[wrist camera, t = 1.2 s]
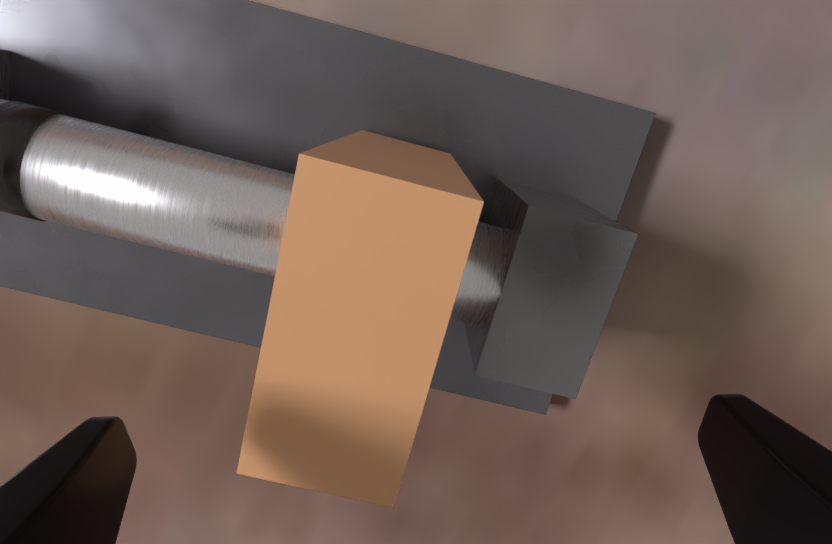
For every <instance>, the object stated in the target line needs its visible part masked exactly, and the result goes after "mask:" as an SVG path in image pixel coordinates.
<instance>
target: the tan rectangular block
mask: <svg viewBox="0 0 832 544" xmlns="http://www.w3.org/2000/svg"><path fill="white" fill-rule="evenodd" d="M483 204H484V201H483V199H482V198H481V197H480V195H479V194H478V192H477V191H476V189H475V188H474V187H473V185H472V184H471V182H470V181H469V179H468V178H467V177H466V175H465V174H464V172H463V171H462V169H461V168H460V167H459V165H458V164H457V162H456V161H455V159H454V158H453V157H452V155H451V154H450V153H447V152H443V151H439V150H435V149H432V148H428V147H424V146H420V145H416V144H413V143H409V142H405V141H401V140H398V139H394V138H390V137H386V136H383V135H379V134H375V133H371V132H367V131H364V130H361V131H358V132H356V133H353V134H350V135H348V136H345V137H342V138H339V139H337V140H334V141H331V142H329V143H326V144H323V145H321V146H318V147H315V148H312V149H310V150H307V151H304V152H302V153H299V156H298V161H297V166H296V171H295V177H294V182H293V187H292V192H291V197H290V202H289V207H288V212H287V217H286V223H285V228H284V233H283V238H282V243H281V248H280V253H279V258H278V264H277V269H276V274H275V279H274V284H273V289H272V294H271V299H270V304H269V310H268V315H267V320H266V325H265V330H264V335H263V340H262V345H261V351H260V356H259V361H258V366H257V371H256V376H255V381H254V386H253V392H252V397H251V402H250V407H249V412H248V417H247V422H246V427H245V432H244V438H243V443H242V448H241V453H240V458H239V463H238V468H237V474H242V475H246V476H251V477H255V478H260V479H264V480H269V481H273V482H278V483H282V484H287V485H291V486H296V487H300V488H305V489H310V490H314V491H319V492H323V493H328V494H332V495H337V496H341V497H346V498H350V499H355V500H359V501H364V502H369V503H373V504H378V505H382V506H387V507H391V508H394V506H395V502H396V499H397V496H398V492H399V489H400V485H401V482H402V479H403V475H404V472H405V468H406V465H407V462H408V458H409V455H410V451H411V448H412V445H413V441H414V438H415V434H416V431H417V428H418V424H419V421H420V417H421V414H422V411H423V407H424V404H425V401H426V397H427V394H428V390H429V387H430V384H431V380H432V377H433V373H434V370H435V367H436V363H437V360H438V356H439V353H440V350H441V346H442V343H443V339H444V336H445V333H446V329H447V326H448V322H449V319H450V316H451V312H452V309H453V305H454V302H455V299H456V295H457V292H458V288H459V285H460V282H461V278H462V275H463V271H464V268H465V265H466V261H467V258H468V255H469V251H470V248H471V244H472V241H473V238H474V234H475V231H476V227H477V224H478V221H479V217H480V214H481V210H482V207H483Z"/></svg>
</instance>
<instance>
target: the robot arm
mask: <svg viewBox="0 0 832 544" xmlns="http://www.w3.org/2000/svg"><path fill="white" fill-rule="evenodd" d="M698 442H699V447H700V450H701V453H702V455H703V458H704V461H705V464H706V466H707V469H708V472H709V475H710V477H711V480H712V483H713V486H714V488H715V491H716V494H717V497H718V500H719V502H720V505H721V508H722V511H723V513H724V516H725V519H726V522H727V524H728V527H729V530H730V532H731V535H732V537H733V540H734V542H735V544H832V451H830V450H828V449H827V448H825V447H824V446H822V445H821V444H819V443H818V442H816V441H814V440H813V439H811V438H810V437H808V436H807V435H805V434H804V433H802V432H800V431H799V430H797V429H796V428H794V427H793V426H791V425H790V424H788V423H786V422H785V421H783V420H782V419H780V418H779V417H777V416H776V415H774V414H772V413H771V412H769V411H768V410H766V409H765V408H763V407H761V406H760V405H758V404H757V403H755V402H754V401H752V400H751V399H749V398H747V397H746V396H744V395H741V394H720V395H715V396H713V397H712V398H711V399H710V401H709V404H708V406H707V409H706V412H705V415H704V417H703V420H702V423H701V425H700V428H699V432H698ZM136 463H137V458H136V452H135V449H134V447H133V444H132V442H131V440H130V437H129V435H128V432H127V430H126V427H125V425H124V423H123V421H122V420H121V419H120V418H119V417H115V416H112V417H93V418H90V419H87V420H86V421H84V422H83V423H82V424H80V425H79V426H78V427H76V428H75V429H74V430H73V431H71V432H70V433H69V434H67V435H66V436H65V437H63V438H62V439H61V440H60V441H58V442H57V443H56V444H54V445H53V446H52V447H50V448H49V449H48V450H47V451H45V452H44V453H43V454H41V455H40V456H39V457H37V458H36V459H35V460H33V461H32V462H31V463H30V464H28V465H27V466H26V467H24V468H23V469H22V470H20V471H19V472H18V473H17V474H15V475H14V476H13V477H11V478H10V479H9V480H7V481H6V482H5V483H4V484H2V485H1V486H0V544H116V540H117V536H118V532H119V529H120V525H121V521H122V518H123V514H124V510H125V507H126V503H127V499H128V495H129V492H130V488H131V484H132V481H133V477H134V473H135V469H136Z"/></svg>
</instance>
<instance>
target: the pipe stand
mask: <svg viewBox="0 0 832 544" xmlns="http://www.w3.org/2000/svg"><path fill="white" fill-rule="evenodd" d="M655 114H656V113H653V112H650V111H646V110H642V109H639V108H635V107H632V106H628V105H624V104H621V103H617V102H613V101H610V100H606V99H603V98H599V97H595V96H592V95H588V94H585V93H581V92H577V91H574V90H570V89H566V88H563V87H559V86H556V85H552V84H548V83H545V82H541V81H538V80H534V79H530V78H527V77H523V76H520V75H516V74H512V73H509V72H505V71H501V70H498V69H494V68H491V67H487V66H483V65H480V64H476V63H473V62H469V61H465V60H462V59H458V58H455V57H451V56H447V55H444V54H440V53H436V52H433V51H429V50H426V49H422V48H418V47H415V46H411V45H408V44H404V43H400V42H397V41H393V40H390V39H386V38H382V37H379V36H375V35H371V34H368V33H364V32H361V31H357V30H353V29H350V28H346V27H343V26H339V25H335V24H332V23H328V22H325V21H321V20H317V19H314V18H310V17H306V16H303V15H299V14H296V13H292V12H288V11H285V10H281V9H278V8H274V7H270V6H267V5H263V4H260V3H256V2H252V1H249V0H0V286H2V287H6V288H10V289H15V290H19V291H23V292H27V293H32V294H36V295H40V296H44V297H49V298H53V299H57V300H61V301H66V302H70V303H74V304H78V305H82V306H87V307H91V308H95V309H99V310H104V311H108V312H112V313H116V314H121V315H125V316H129V317H133V318H138V319H142V320H146V321H150V322H154V323H159V324H163V325H167V326H171V327H176V328H180V329H184V330H188V331H193V332H197V333H201V334H205V335H210V336H214V337H218V338H222V339H227V340H231V341H235V342H239V343H243V344H248V345H252V346H256V347H260V348H261V345H262V340H263V335H264V330H265V325H266V320H267V315H268V310H269V304H270V299H271V294H272V289H273V284H274V279H275V274H276V269H277V264H278V258H279V253H280V248H281V243H282V238H283V233H284V228H285V223H286V217H287V212H288V207H289V202H290V197H291V192H292V187H293V182H294V177H295V171H296V166H297V161H298V156H299V153H302V152H304V151H307V150H310V149H312V148H315V147H318V146H321V145H323V144H326V143H329V142H331V141H334V140H337V139H339V138H342V137H345V136H348V135H350V134H353V133H356V132H358V131H361V130H364V131H367V132H371V133H375V134H379V135H383V136H386V137H390V138H394V139H398V140H401V141H405V142H409V143H413V144H416V145H420V146H424V147H428V148H432V149H435V150H439V151H443V152H447V153H450V154H451V155H452V157H453V158H454V159H455V161H456V162H457V164H458V165H459V167H460V168H461V169H462V171H463V172H464V174H465V175H466V177H467V178H468V179H469V181H470V182H471V184H472V185H473V187H474V188H475V189H476V191H477V192H478V194H479V195H480V197H481V198H482V199H483V201H484V204H483V207H482V210H481V214H480V217H479V221H478V224H477V227H476V231H475V234H474V238H473V241H472V244H471V248H470V251H469V255H468V258H467V261H466V265H465V268H464V271H463V275H462V278H461V282H460V285H459V288H458V292H457V295H456V299H455V302H454V305H453V309H452V312H451V316H450V319H449V322H448V326H447V329H446V333H445V336H444V339H443V343H442V346H441V350H440V353H439V356H438V360H437V363H436V367H435V370H434V373H433V377H432V380H431V384H430V388H434V389H438V390H443V391H447V392H451V393H455V394H460V395H464V396H468V397H472V398H476V399H481V400H485V401H489V402H493V403H498V404H502V405H506V406H510V407H515V408H519V409H523V410H527V411H532V412H536V413H540V414H544V415H546V412H547V409H548V406H549V404H550V401H551V398H552V395H553V394H555V395H560V396H564V397H568V398H572V399H576V397H577V394H578V392H579V389H580V386H581V384H582V381H583V378H584V376H585V373H586V371H587V368H588V365H589V363H590V360H591V357H592V355H593V352H594V349H595V347H596V344H597V342H598V339H599V336H600V334H601V331H602V328H603V326H604V323H605V320H606V318H607V315H608V313H609V310H610V307H611V305H612V302H613V299H614V297H615V294H616V291H617V289H618V286H619V284H620V281H621V278H622V276H623V273H624V270H625V268H626V265H627V262H628V260H629V257H630V255H631V252H632V249H633V247H634V244H635V241H636V239H637V236H638V234H637V233H635V232H634V231H632V230H630V229H628V228H627V227H625V226H623V225H621V224H620V223H618V222H616V220H617V218H618V215H619V212H620V209H621V207H622V204H623V201H624V198H625V196H626V193H627V190H628V187H629V185H630V182H631V179H632V176H633V174H634V171H635V168H636V166H637V163H638V160H639V157H640V155H641V152H642V149H643V146H644V144H645V141H646V138H647V135H648V133H649V130H650V127H651V124H652V122H653V119H654V116H655Z"/></svg>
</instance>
